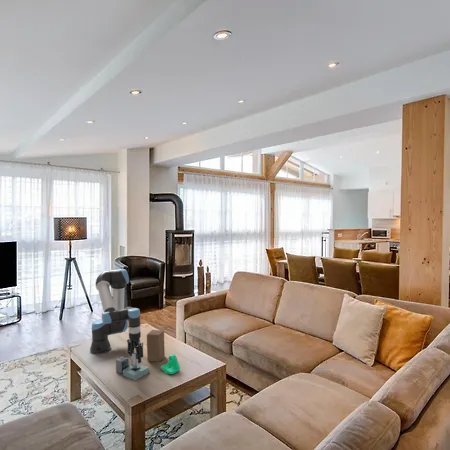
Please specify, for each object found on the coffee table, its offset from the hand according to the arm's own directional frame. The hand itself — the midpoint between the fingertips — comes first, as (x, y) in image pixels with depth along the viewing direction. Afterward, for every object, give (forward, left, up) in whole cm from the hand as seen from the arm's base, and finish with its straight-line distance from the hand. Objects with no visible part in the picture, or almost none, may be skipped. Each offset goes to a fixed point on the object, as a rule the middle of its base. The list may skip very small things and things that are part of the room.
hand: (135, 366), depth 217 cm
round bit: (0, 0, -5) cm, 5 cm away
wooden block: (-5, +23, -6) cm, 24 cm away
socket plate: (0, 0, -5) cm, 5 cm away
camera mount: (+16, +16, -6) cm, 23 cm away
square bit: (-10, -3, -5) cm, 12 cm away
